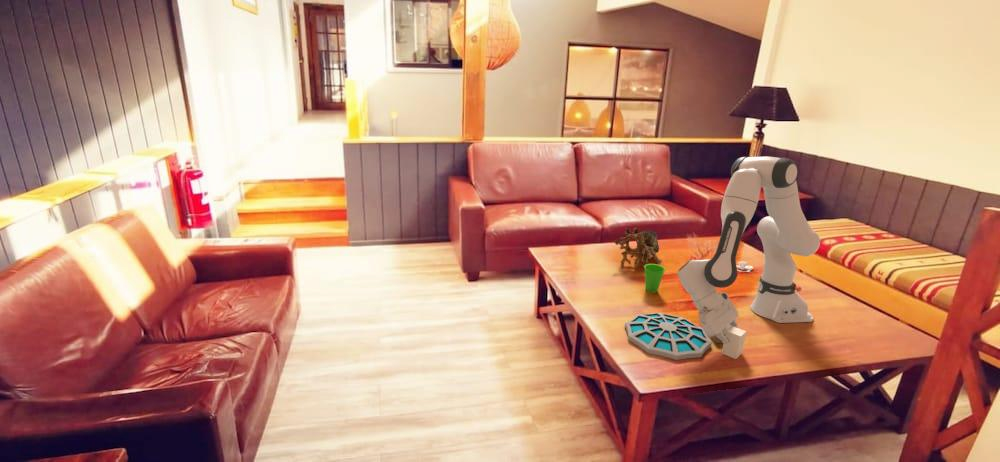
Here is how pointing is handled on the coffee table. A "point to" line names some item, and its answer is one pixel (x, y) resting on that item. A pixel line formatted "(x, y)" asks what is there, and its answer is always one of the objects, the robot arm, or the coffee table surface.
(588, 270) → the coffee table surface
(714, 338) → the walnut base block
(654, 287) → the cup
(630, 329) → the decorative platform
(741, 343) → the cream pillar block
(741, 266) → the teacup and saucer
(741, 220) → the robot arm
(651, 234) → the decorative coral sculpture
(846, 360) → the coffee table surface
